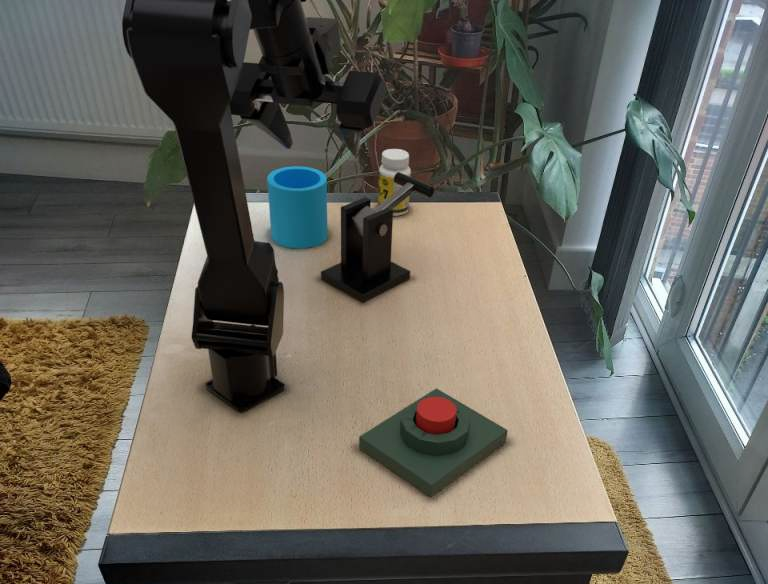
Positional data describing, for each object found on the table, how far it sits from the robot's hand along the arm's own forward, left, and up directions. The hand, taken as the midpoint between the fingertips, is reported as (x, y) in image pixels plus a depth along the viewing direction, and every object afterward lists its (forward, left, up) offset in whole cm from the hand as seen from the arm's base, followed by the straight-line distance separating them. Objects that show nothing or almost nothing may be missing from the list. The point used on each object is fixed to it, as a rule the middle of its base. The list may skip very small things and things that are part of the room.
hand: (322, 149), depth 99 cm
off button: (-19, -37, -12) cm, 43 cm away
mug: (+3, +9, -15) cm, 18 cm away
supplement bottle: (+18, +4, -15) cm, 24 cm away
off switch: (-19, -37, -15) cm, 44 cm away
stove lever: (+4, -8, -7) cm, 11 cm away
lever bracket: (0, -8, -15) cm, 17 cm away
